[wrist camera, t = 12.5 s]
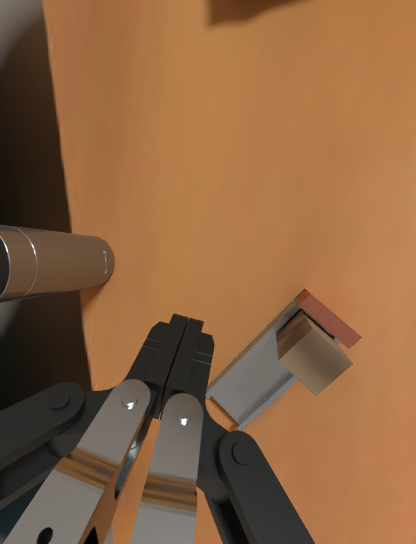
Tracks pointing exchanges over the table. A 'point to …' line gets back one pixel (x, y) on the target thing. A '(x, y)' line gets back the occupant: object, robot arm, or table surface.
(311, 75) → the table surface
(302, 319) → the slider block
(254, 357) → the track
